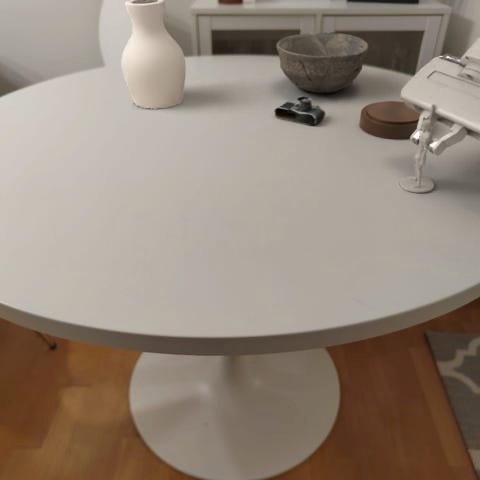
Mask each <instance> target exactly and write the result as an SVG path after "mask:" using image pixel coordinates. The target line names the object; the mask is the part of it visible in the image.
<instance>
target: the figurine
mask: <svg viewBox="0 0 480 480" xmlns="http://www.w3.org/2000/svg"><path fill="white" fill-rule="evenodd" d="M434 107H435V104H432V105H431V110H430V114H429V119H428V120H423V122H422V129H421V130H423V131H424V130H425V132H424V133H422V134H421V135H420V137H419V141H420V142H419V145H417V148H416V152H415V155H414V159H413V165H414V174H415V175H408V176H405V177H403V178H401V179H400V180H399V187H400V188H401V189H403V190H405V191H407V192H409V193H415V194H418V193H419V194H423V193H428V192H431V191H432V190H433V189H435V188H434V187H435V183H434V182H433V181H432V179H430V178H428V177H425V176H423V171H422V168H423V166H425V165H426V162H427V153H428V151H429V150H428V145H429V144H430V143H432V141H433V135H434V129H433V128H431V127H432V126H431V124H432V123H431V120H432V116H433V112H434Z"/></svg>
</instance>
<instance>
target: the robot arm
mask: <svg viewBox="0 0 480 480" xmlns="http://www.w3.org/2000/svg"><path fill="white" fill-rule="evenodd" d="M399 98H400V99H401V102H404V104H405V105H406V106H407V107H408V108H409V109H411V110H414V111H416V112H418V113H420V114H421V115H420V118H419V122H418V125H417V129H416V130H415V132H414V133H413V134H412V135H411V137H410V139H409V140H410V141H411V143H413V144H414V145H416V146H418V145H419V142H420V141H419V137H420V135H421V134H422V133H424V132H425V130H424V131H423V130H421V129H422V122H423V120H428V119H429V114H430V110H431V105H432V104H435V107H434V112H433V116H432V120H431V123H432V124H431V127H432V126H434V125H435V123H439V124H442V125H444V126H446V127H449V128H450V129H449V131H450V132H449V133H447V134H446V135H443V136H442V137H440V138H438V137H434V138H432V143H430V144H429V145H428V151H429V152H430V153H431V154H433V155H435V156H437V157H438V156H439V157H440V156H441V155H442V153H443V152H444V151H445V150H446V149H447V148H450V147H452V146H454V145H456V144H459V143H461V142H462V141H463V140H464V139H465V138H466V137H467V136H468V137H470V138H473V139H475V140H477V141H478V142H480V35H479V36H478V37H477V39H476V40H475V41H474V42H473V43H472V45H470V46H469V48H468V49H467V50H466V51H465V53H464V54H463V55H462V56H455V55H453V54H452V53H451V54H450V53H444V54H443V55H438V56H434V57H433V58H431V60H430V61H429V62H427V63H426V64H425V65H424V66H423V67H421V68H420V69H419V70H418V72H416V73H415V74H414V75H413V76H412V77H411V78H410V79H409V80H408V81H407V82H406V84H404V86H403V87H402V89H401V91H400V97H399Z"/></svg>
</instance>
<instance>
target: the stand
mask: <svg viewBox="0 0 480 480" xmlns="http://www.w3.org/2000/svg"><path fill="white" fill-rule="evenodd" d="M360 110H361V111H360V115H359V116H360V117H359V123H358V124H359V128H360V129H361V130H362V131H363V132H365V133H366V134H368V135H371V136H373V137H377V138H381V139H386V140H387V139H388V140H410V137H411V135H412V134H413V133H414V132H415V130H416V129H417V125H418V122H419V118H420V115H421V114H420V113H418V112H416V111H414V110H411V109H409V108H408V107H407V106H406V105H405V104H404V102H403V101H396V100H385V101H377V102H372V103H369V104H366V105H365V106H364V107H363V108H362V109H360Z"/></svg>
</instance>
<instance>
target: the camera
mask: <svg viewBox="0 0 480 480" xmlns="http://www.w3.org/2000/svg"><path fill="white" fill-rule="evenodd" d="M274 116H275V117H276V118H278V119H281V120H285V121H290V122H293V123H294V122H295V123H298V124H302V125H307V126H314V125H315V124H318V122H320V121H321V120H324V118H325V117H326V112H325V110H324V109H323V108H322V107H321V106H320V105H314V104H313V103H312V98H311V97H309V96H305V95H303V96H299V97H297V98H296V101H295V102H292V101H286V102H284V103H283V104H281V105H280V106H278V107H276V108H275V109H274Z"/></svg>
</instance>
